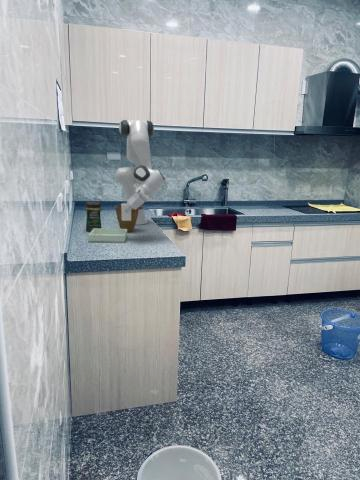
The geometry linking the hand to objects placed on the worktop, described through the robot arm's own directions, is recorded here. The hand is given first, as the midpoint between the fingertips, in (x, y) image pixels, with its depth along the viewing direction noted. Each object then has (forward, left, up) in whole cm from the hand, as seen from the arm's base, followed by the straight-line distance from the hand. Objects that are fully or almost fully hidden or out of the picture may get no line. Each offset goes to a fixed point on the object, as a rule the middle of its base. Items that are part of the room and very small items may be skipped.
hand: (125, 211), depth 203 cm
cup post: (0, +1, -5) cm, 5 cm away
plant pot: (-22, 0, -17) cm, 28 cm away
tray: (0, -9, -16) cm, 19 cm away
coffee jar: (-21, -21, -17) cm, 34 cm away
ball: (+4, -14, -14) cm, 20 cm away
